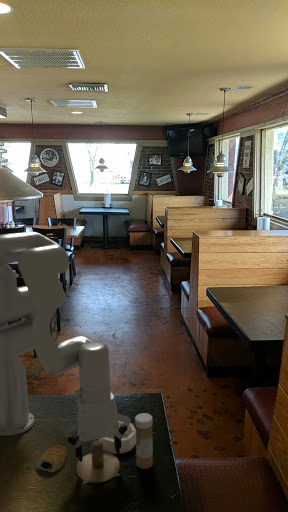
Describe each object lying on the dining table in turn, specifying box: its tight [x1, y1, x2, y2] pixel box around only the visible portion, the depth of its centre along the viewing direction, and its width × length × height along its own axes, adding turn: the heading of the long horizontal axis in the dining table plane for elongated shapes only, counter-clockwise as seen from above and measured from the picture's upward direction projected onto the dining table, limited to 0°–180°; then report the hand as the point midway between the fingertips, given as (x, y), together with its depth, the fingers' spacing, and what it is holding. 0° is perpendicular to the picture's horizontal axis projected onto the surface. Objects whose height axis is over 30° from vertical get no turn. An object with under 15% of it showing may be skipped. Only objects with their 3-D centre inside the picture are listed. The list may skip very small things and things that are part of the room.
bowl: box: [98, 421, 136, 455], centre depth 118 cm, size 10×10×4 cm
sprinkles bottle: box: [134, 412, 154, 470], centre depth 108 cm, size 5×5×13 cm
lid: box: [76, 439, 120, 484], centre depth 107 cm, size 11×11×7 cm
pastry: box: [35, 444, 68, 473], centre depth 111 cm, size 9×7×4 cm
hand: (98, 454), depth 106 cm, fingers open, 9 cm apart
